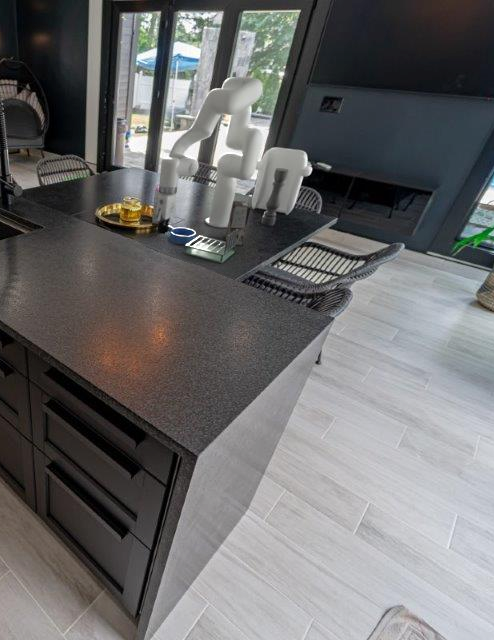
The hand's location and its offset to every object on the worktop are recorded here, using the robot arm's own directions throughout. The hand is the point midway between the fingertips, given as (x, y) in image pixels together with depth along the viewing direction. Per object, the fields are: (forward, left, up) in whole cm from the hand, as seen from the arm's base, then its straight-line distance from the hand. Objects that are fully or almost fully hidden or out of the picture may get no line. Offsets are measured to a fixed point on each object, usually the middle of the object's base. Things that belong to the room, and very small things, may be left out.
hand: (163, 232), depth 179 cm
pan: (0, +5, -1) cm, 5 cm away
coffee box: (-15, +27, -2) cm, 31 cm away
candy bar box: (-15, -11, -2) cm, 18 cm away
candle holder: (-49, +32, -2) cm, 58 cm away
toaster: (-74, +27, -2) cm, 79 cm away
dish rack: (+5, +24, -2) cm, 25 cm away
